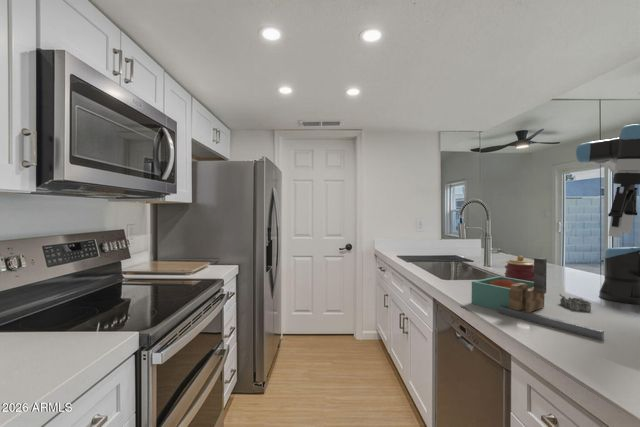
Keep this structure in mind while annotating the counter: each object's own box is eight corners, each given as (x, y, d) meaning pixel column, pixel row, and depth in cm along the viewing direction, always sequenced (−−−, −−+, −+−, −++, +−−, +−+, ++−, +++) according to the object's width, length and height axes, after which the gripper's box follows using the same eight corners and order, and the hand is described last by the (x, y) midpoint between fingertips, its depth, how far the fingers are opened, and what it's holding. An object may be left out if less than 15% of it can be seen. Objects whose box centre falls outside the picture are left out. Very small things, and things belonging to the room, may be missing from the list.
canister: (500, 288, 154) (500, 253, 154) (529, 290, 151) (529, 254, 151) (510, 295, 141) (511, 256, 141) (542, 297, 138) (542, 258, 138)
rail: (501, 312, 116) (501, 305, 116) (603, 338, 92) (603, 330, 92) (498, 312, 115) (498, 306, 115) (601, 340, 91) (601, 331, 91)
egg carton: (557, 303, 130) (557, 293, 130) (579, 304, 128) (579, 295, 128) (570, 310, 120) (570, 300, 120) (594, 312, 118) (594, 301, 118)
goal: (498, 295, 140) (498, 276, 140) (541, 305, 126) (541, 283, 126) (471, 303, 128) (471, 281, 128) (515, 314, 114) (516, 290, 114)
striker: (537, 305, 124) (537, 255, 124) (553, 308, 120) (553, 257, 120) (509, 315, 112) (509, 260, 112) (525, 319, 107) (526, 262, 107)
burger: (489, 298, 136) (489, 275, 136) (526, 303, 128) (526, 279, 128) (484, 305, 126) (485, 280, 125) (524, 311, 117) (524, 285, 117)
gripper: (636, 171, 93) (625, 240, 95) (654, 173, 106) (644, 233, 109) (603, 171, 99) (593, 236, 101) (624, 173, 113) (615, 229, 115)
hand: (619, 234), depth 105 cm, fingers open, 13 cm apart
